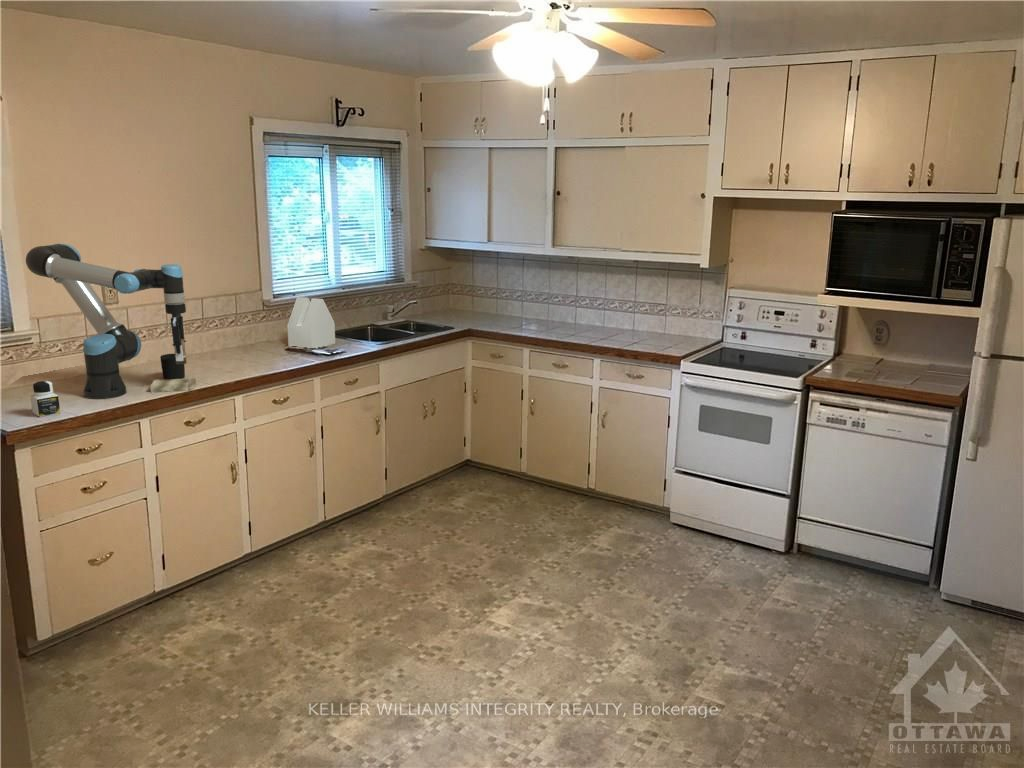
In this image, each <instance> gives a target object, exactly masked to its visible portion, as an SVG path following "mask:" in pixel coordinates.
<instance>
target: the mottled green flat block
mask: <svg viewBox="0 0 1024 768" xmlns="http://www.w3.org/2000/svg"><path fill="white" fill-rule="evenodd" d="M196 386H197V380H196V378H194V377H193V378H183V379H166V380H165V379H154V380H153V381H152V383H151V384H150V386H149V387H150V393H163V392H162V391H173V392H190V391H191V392H193V391H194V390H195V388H196ZM194 387H195V388H194ZM193 389H194V390H193Z"/></svg>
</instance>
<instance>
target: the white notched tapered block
mask: <svg viewBox="0 0 1024 768" xmlns="http://www.w3.org/2000/svg"><path fill="white" fill-rule="evenodd" d="M286 327H287V342H288V347H289V346H298V347H307V348H316V349H319V348H318V347H320V348H323V346H324V347H326V346H331V345H333V344H336V328H335V321H334V319H333V316H332V314H331V312H330V310H329V309H328V306H327V304H326V302H325V299H323V298H315V297H314V298H311V300H310V299H309V297H306V296H305V297H304V296H297V297H296V299H295V302H294V304H293V309H292V311H291V313H290V316H289V320H288V322H287V326H286Z"/></svg>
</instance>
